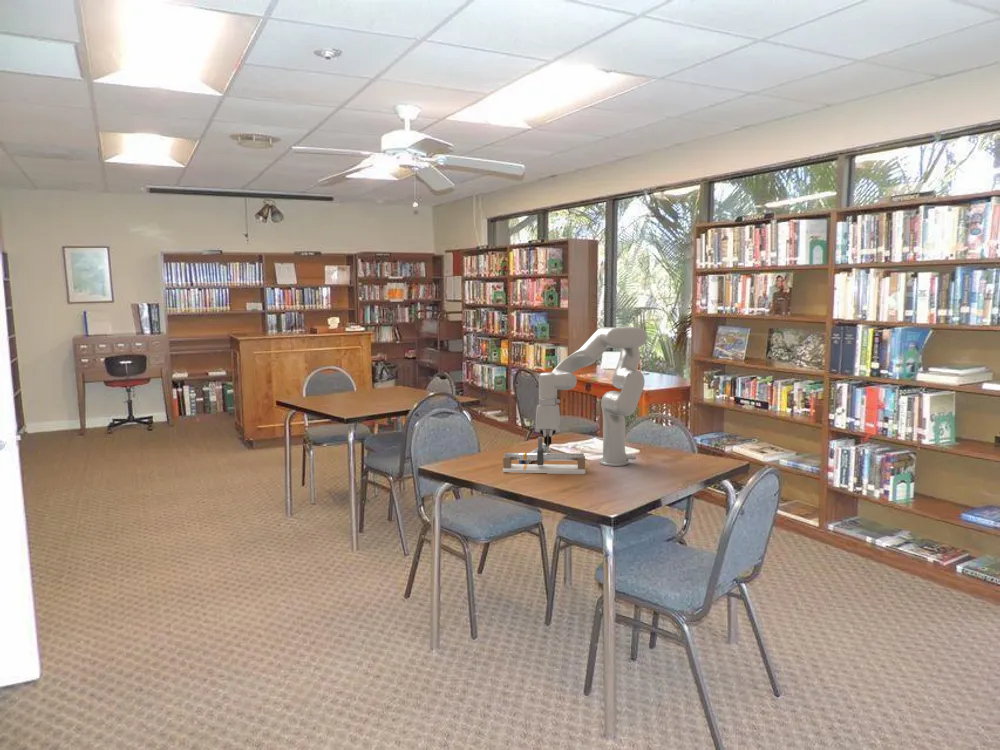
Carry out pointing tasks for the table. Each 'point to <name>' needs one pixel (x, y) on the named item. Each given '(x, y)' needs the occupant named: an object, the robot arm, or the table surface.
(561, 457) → the pipe
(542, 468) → the pipe base
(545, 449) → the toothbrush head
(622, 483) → the table surface
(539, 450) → the collar
